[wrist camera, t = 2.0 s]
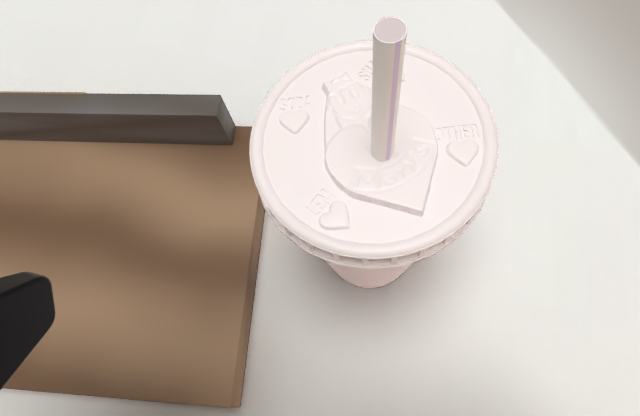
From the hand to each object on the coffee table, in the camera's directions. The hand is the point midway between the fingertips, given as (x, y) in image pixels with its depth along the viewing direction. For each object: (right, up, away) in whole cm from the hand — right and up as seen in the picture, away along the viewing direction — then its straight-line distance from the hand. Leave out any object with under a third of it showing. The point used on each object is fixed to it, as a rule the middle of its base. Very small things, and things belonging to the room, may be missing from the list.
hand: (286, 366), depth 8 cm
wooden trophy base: (-11, +1, +14) cm, 18 cm away
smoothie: (+3, +1, +13) cm, 14 cm away
